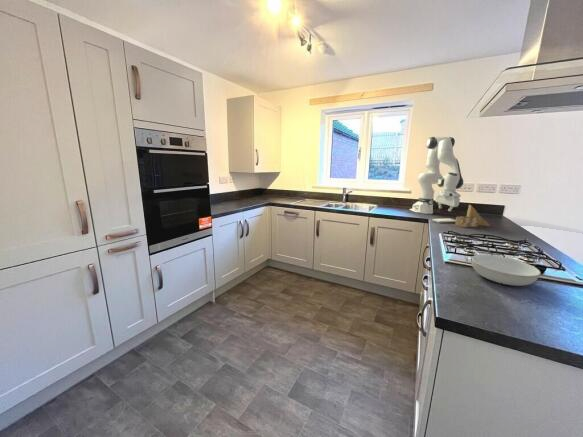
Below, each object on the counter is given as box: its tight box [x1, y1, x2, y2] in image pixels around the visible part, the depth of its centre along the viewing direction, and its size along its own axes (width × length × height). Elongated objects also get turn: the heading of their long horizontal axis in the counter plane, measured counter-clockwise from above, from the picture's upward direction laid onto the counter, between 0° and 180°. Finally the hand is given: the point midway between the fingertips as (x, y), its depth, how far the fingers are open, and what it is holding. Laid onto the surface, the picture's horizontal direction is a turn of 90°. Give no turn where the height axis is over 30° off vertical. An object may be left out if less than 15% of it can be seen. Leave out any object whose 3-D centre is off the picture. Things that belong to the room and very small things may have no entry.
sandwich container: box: [466, 204, 491, 227], centre depth 192 cm, size 9×15×15 cm, turn 65°
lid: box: [432, 218, 456, 224], centre depth 197 cm, size 17×7×2 cm, turn 103°
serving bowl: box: [471, 254, 542, 287], centre depth 97 cm, size 21×21×7 cm
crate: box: [454, 215, 480, 228], centre depth 185 cm, size 16×5×7 cm, turn 103°
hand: (444, 209), depth 196 cm, fingers open, 8 cm apart
